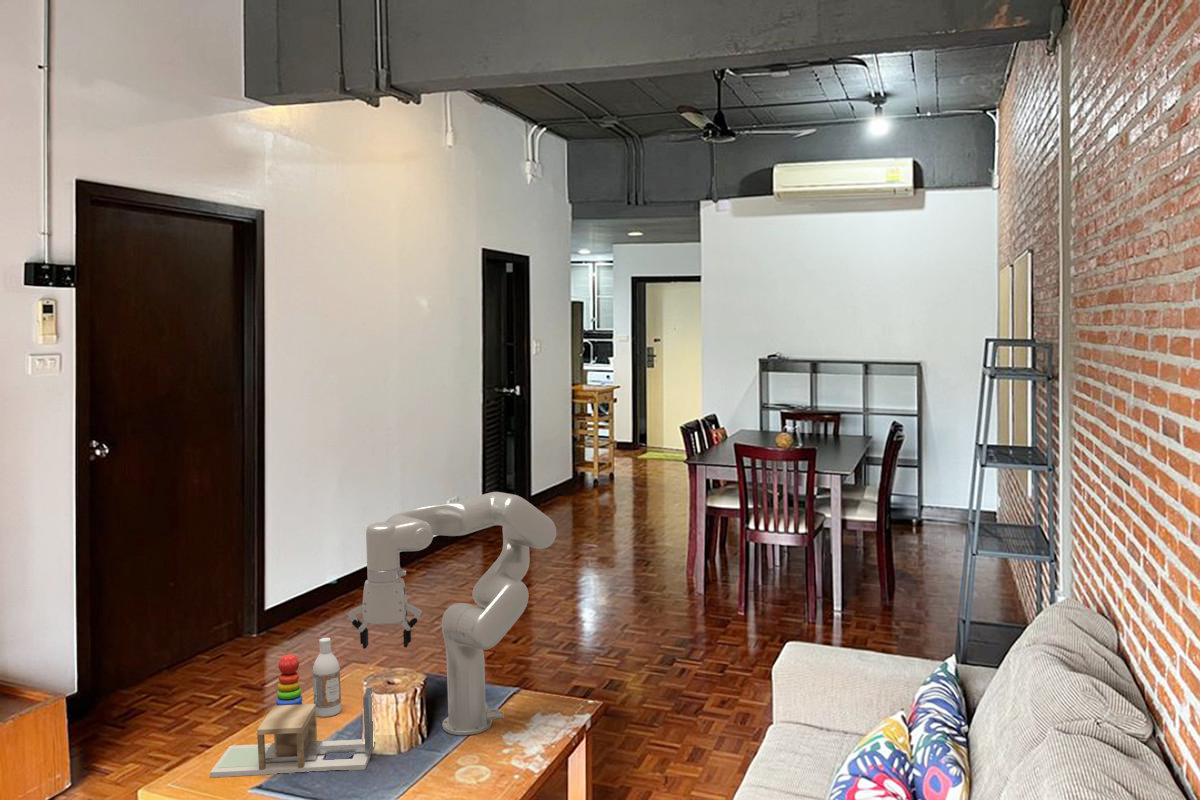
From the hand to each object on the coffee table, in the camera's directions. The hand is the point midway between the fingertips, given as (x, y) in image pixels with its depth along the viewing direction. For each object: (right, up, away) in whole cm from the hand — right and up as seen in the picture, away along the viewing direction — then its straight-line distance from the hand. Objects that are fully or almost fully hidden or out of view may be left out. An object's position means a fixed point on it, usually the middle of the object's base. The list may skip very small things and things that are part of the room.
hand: (386, 646), depth 223 cm
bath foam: (-22, -25, +28) cm, 44 cm away
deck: (-22, -27, 0) cm, 35 cm away
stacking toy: (-29, -26, +19) cm, 44 cm away
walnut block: (-22, -24, 0) cm, 33 cm away
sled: (-16, -25, 0) cm, 30 cm away
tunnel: (-23, -26, 0) cm, 35 cm away
